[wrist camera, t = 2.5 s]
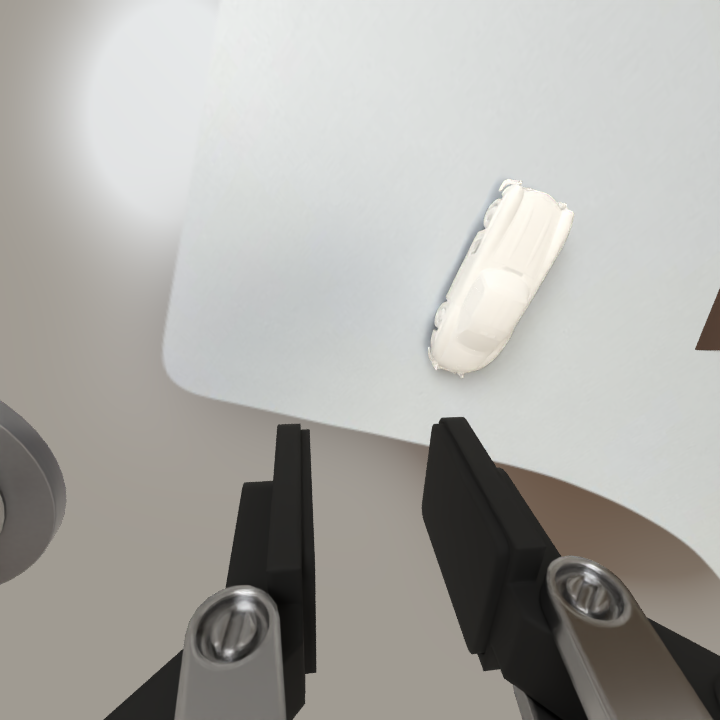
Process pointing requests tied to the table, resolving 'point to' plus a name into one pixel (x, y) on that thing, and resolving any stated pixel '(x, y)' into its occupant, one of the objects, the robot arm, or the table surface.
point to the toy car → (498, 277)
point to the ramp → (711, 329)
